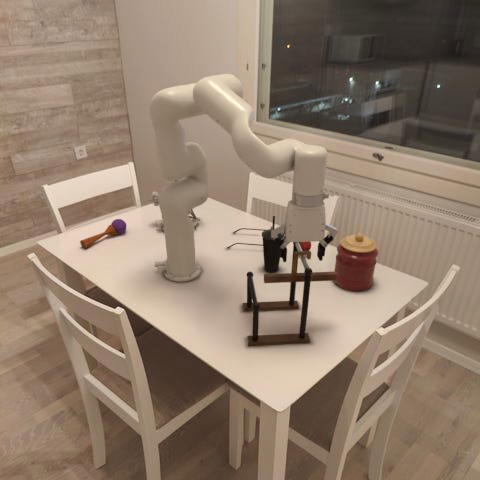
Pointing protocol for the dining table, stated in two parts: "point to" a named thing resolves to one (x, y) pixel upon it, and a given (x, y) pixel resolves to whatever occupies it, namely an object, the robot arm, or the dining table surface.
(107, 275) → the dining table surface
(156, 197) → the flower
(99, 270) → the dining table surface
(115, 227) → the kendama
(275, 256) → the drinking cup
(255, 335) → the rack
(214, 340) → the dining table surface
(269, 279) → the hanger
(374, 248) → the kitchen canister
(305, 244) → the red oval fruit
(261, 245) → the glasses
